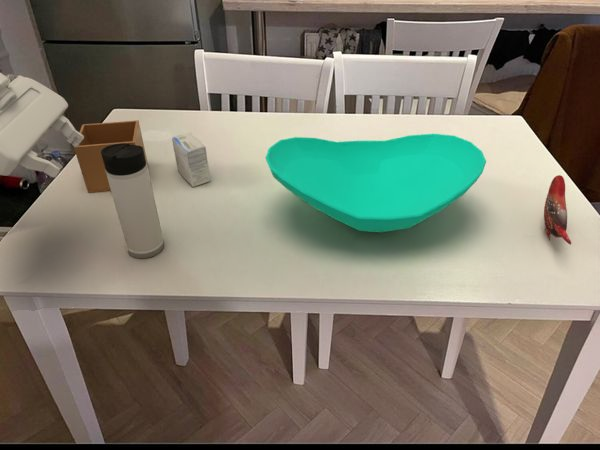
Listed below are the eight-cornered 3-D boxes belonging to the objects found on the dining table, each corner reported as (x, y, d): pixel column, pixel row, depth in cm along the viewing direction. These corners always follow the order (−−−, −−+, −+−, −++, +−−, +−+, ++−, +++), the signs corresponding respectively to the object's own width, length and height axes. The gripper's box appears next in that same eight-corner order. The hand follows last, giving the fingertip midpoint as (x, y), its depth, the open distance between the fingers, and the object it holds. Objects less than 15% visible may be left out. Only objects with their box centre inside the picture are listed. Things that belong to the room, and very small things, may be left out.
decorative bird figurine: (548, 214, 92) (566, 170, 86) (566, 273, 78) (589, 226, 72) (533, 212, 92) (549, 168, 86) (548, 270, 79) (569, 223, 72)
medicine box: (211, 182, 100) (206, 146, 95) (191, 188, 98) (186, 151, 93) (195, 166, 105) (190, 131, 100) (177, 172, 103) (171, 136, 98)
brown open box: (88, 192, 96) (73, 147, 90) (95, 167, 105) (82, 124, 98) (145, 187, 98) (134, 142, 92) (147, 163, 107) (138, 120, 100)
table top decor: (269, 264, 79) (266, 200, 71) (266, 179, 101) (264, 123, 93) (494, 255, 82) (516, 192, 74) (444, 174, 104) (456, 118, 96)
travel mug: (119, 255, 81) (88, 153, 69) (142, 233, 86) (117, 134, 74) (149, 263, 79) (124, 160, 67) (171, 241, 84) (150, 141, 72)
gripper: (3, 84, 74) (82, 139, 81) (-74, 144, 58) (33, 206, 64) (21, 56, 72) (102, 114, 78) (-54, 109, 55) (55, 178, 62)
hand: (70, 156), depth 71 cm, fingers open, 8 cm apart
